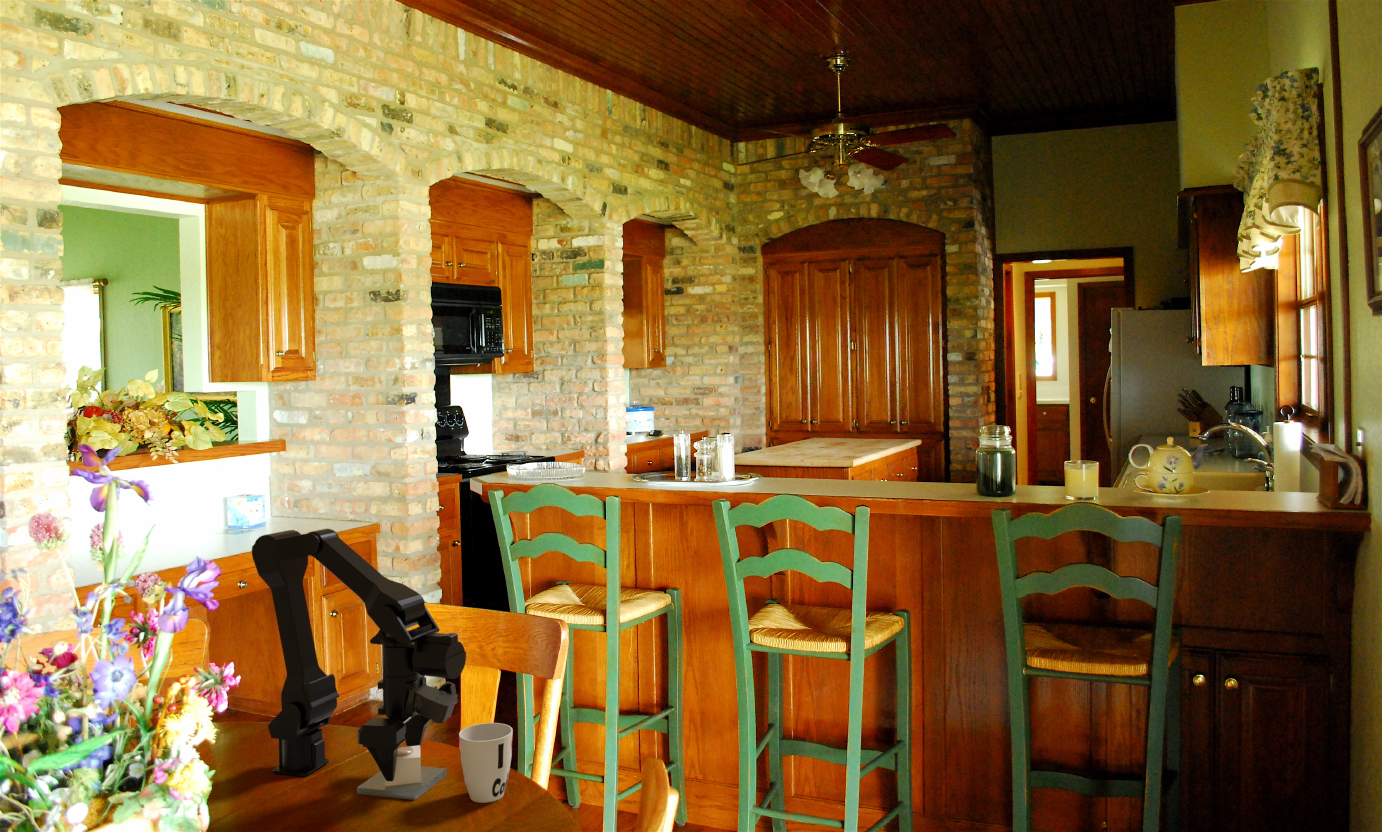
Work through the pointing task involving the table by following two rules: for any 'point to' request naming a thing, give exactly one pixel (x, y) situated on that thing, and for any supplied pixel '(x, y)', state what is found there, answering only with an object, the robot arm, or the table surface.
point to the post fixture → (403, 791)
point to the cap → (407, 766)
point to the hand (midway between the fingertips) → (402, 769)
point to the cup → (486, 760)
